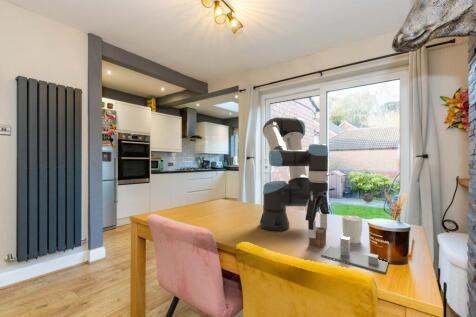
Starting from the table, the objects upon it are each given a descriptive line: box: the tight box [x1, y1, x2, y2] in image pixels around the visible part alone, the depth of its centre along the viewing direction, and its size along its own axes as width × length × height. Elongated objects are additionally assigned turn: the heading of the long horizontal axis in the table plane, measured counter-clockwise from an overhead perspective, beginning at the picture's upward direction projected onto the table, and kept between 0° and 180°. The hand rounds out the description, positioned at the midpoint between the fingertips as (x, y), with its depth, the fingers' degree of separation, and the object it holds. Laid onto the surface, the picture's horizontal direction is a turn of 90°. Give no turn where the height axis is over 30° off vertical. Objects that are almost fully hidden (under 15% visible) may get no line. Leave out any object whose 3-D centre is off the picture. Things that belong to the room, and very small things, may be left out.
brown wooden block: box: [308, 226, 327, 249], centre depth 97 cm, size 5×5×7 cm
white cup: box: [341, 214, 363, 244], centre depth 101 cm, size 8×8×10 cm
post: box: [340, 235, 351, 257], centre depth 85 cm, size 3×3×7 cm
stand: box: [320, 246, 389, 275], centre depth 83 cm, size 20×10×3 cm, turn 51°
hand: (318, 233), depth 96 cm, fingers open, 13 cm apart
